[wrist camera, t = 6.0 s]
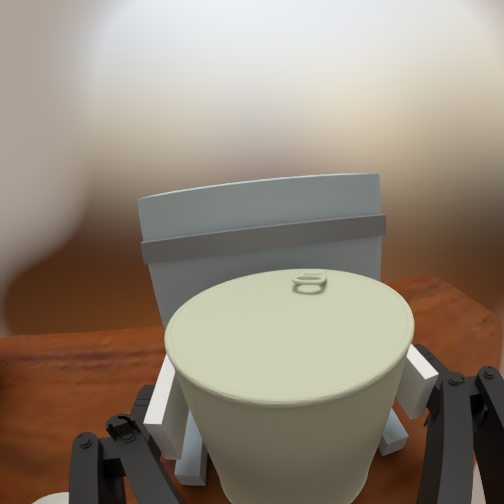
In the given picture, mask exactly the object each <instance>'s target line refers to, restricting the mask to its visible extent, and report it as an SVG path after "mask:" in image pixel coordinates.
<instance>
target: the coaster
mask: <svg viewBox="0 0 504 504" xmlns="http://www.w3.org/2000/svg"><path fill="white" fill-rule="evenodd" d="M33 504H69V492H62V493H55V494H52V495H48V496H45V497H43V498H41V499H39V500H37V501H36V502H34V503H33Z"/></svg>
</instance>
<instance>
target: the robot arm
mask: <svg viewBox="0 0 504 504" xmlns="http://www.w3.org/2000/svg"><path fill="white" fill-rule="evenodd" d="M395 397H396V399H397V400H398V402H399V403H400V405H401V406H402V408H403V410H404V411H405V413H406V414H407V416H408V417H409V419H410V420H412V419H414V418H417V417H419V416H421V415H423V413H424V411H425V409H426V407H427V408H428V409H429V411H430V412H429V415H428V417H427V419H426V421H425V423H424V426H423V427H426V424H427V423H428V424H427V438H426V448H425V457H424V464H423V471H422V477H421V483H420V488H419V493H418V498H417V503H416V504H471V498H472V486H473V449H474V452H475V456H476V460H477V464H478V467H479V471H480V475H481V480H482V485H483V490H484V495H485V501H486V504H504V380H503V378H502V376H501V375H500V373H499V371H498V370H497V369H496V368H494V367H491V366H484V367H482V368H481V369H480V370H479V372H478V374H477V375H476V376H471V377H465V376H464V375H463V374H461V373H458V372H449V371H448V370H447V369H446V367H445V366H444V365H443V364H442V363H441V362H440V361H439V360H438V359H437V358H435V356H434V355H433V354H431V352H430V351H429V350H428V349H427V348H426V347H424V346H422V345H420V344H415V345H412V344H411V345H410V347H409V350H408V353H407V357H406V360H405V364H404V368H403V372H402V376H401V379H400V383H399V386H398V390H397V393H396V396H395ZM486 407H487V408H486ZM188 413H189V406H188V404H187V401H186V399H185V396H184V394H183V391H182V388H181V386H180V383H179V380H178V378H177V375H176V372H175V370H174V367H173V365H172V363H171V362H170V360H169V358H168V356H167V354H166V357H165V360H164V363H163V366H162V369H161V371H160V374H159V377H158V380H157V383H156V385H145V386H144V387H143V388H142V389H141V390H140V391H139V393H138V395H137V398H136V400H135V403H134V406H133V408H132V411H131V413H130V415H128V414H117V415H115V416H113V417H111V418H110V419H109V420H108V421H107V423H106V430H107V432H108V433H109V434H110V436H111V437H108V438H100V439H98V438H97V437H96V435H95V434H93V433H91V432H84V433H81V434H79V435H77V436H76V438H75V439H74V441H73V446H72V455H71V465H70V479H69V504H126V496H125V487H124V476H127V478H128V480H129V483H130V485H131V487H132V490H133V492H134V494H135V497H136V499H137V501H138V503H139V504H186V503H185V502H184V500H183V499H182V497H181V496H180V494H179V492H178V491H177V489H176V487H175V486H174V484H173V482H172V481H171V479H170V477H169V476H168V474H167V472H166V470H165V468H164V467H163V465H162V463H161V462H160V456H161V454H162V455H163V457H164V458H165V459H172V460H181V458H182V451H183V444H184V438H185V432H186V425H187V419H188Z"/></svg>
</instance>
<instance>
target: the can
mask: <svg viewBox="0 0 504 504" xmlns="http://www.w3.org/2000/svg"><path fill="white" fill-rule="evenodd" d="M413 335H414V318H413V314H412V311H411V309H410V307H409V305H408V304H407V302H406V301H405V300H404V299H403V297H402V296H401V295H399V294H398V293H397V292H396V291H395V290H393V289H392V288H390V287H389V286H387V285H385V284H383V283H381V282H379V281H376V280H374V279H371V278H368V277H365V276H362V275H358V274H354V273H349V272H343V271H336V270H326V269H289V270H278V271H270V272H264V273H258V274H253V275H248V276H244V277H240V278H237V279H233V280H230V281H227V282H224V283H221V284H219V285H216V286H214V287H211V288H209V289H207V290H205V291H203V292H201V293H199V294H198V295H196V296H194V297H193V298H191V299H190V300H188V301H187V302H186V303H185V304H183V305H182V306H181V307H180V308H179V309H178V310H177V311H176V312H175V314H174V315H173V316H172V318H171V319H170V321H169V323H168V325H167V328H166V331H165V338H164V340H165V349H166V353H167V356H168V358H169V360H170V362H171V363H172V365H173V367H174V370H175V372H176V375H177V378H178V380H179V383H180V386H181V388H182V391H183V394H184V396H185V399H186V401H187V404H188V406H189V409H190V411H191V414H192V416H193V418H194V421H195V423H196V425H197V428H198V430H199V433H200V435H201V437H202V439H203V442H204V444H205V446H206V448H207V451H208V453H209V455H210V458H211V460H212V462H213V464H214V466H215V469H216V471H217V473H218V475H219V477H220V482H221V486H222V489H223V491H224V493H225V495H226V497H227V498H228V500H229V501H230V502H231V503H232V504H351V503H352V502H353V501H354V499H355V498H356V497H357V496H358V494H359V493H360V492H361V490H362V488H363V487H364V484H365V482H366V479H367V476H368V471H369V467H370V465H371V462H372V460H373V457H374V455H375V452H376V450H377V447H378V445H379V442H380V440H381V437H382V434H383V432H384V429H385V426H386V423H387V420H388V417H389V414H390V411H391V408H392V405H393V402H394V399H395V396H396V393H397V390H398V386H399V383H400V379H401V376H402V372H403V368H404V364H405V360H406V357H407V353H408V350H409V347H410V345H411V342H412V339H413Z"/></svg>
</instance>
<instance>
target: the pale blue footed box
mask: <svg viewBox="0 0 504 504" xmlns="http://www.w3.org/2000/svg"><path fill="white" fill-rule="evenodd" d="M137 204H138V212H139V218H140V224H141V229H142V235H143V240H144V241H143V242H142V243H140V244H141V250H142V254H143V259H144V264H148V265H149V269H150V274H151V279H152V283H153V287H154V291H155V295H156V299H157V303H158V307H159V311H160V315H161V319H162V322H163V326H164V329H165V331H166V328H167V325H168V323H169V321H170V319H171V318H172V316H173V315H174V314H175V312H176V311H177V310H178V309H179V308H180V307H181V306H182V305H183V304H185V303H186V302H187V301H188V300H190V299H191V298H193V297H194V296H196V295H198V294H199V293H201V292H203V291H205V290H207V289H209V288H211V287H214V286H216V285H219V284H221V283H224V282H227V281H230V280H233V279H237V278H240V277H244V276H248V275H253V274H258V273H264V272H270V271H278V270H289V269H326V270H336V271H343V272H349V273H354V274H358V275H362V276H365V277H368V278H371V279H374V280H376V281H379V282H380V270H381V236H382V235H386V215H384V214H381V200H380V182H379V174H325V175H311V176H297V177H284V178H273V179H263V180H254V181H245V182H236V183H228V184H220V185H213V186H206V187H199V188H192V189H185V190H179V191H173V192H167V193H163V194H158V195H154V196H149V197H145V198H141V199H137ZM407 439H408V434H407V433H406V431H405V429H404V427H403V426H402V424H401V422H400V421H399V419H398V417H397V416H396V414H395V413H394V411H393V409H392V408H391V411H390V414H389V417H388V420H387V423H386V426H385V429H384V432H383V434H382V437H381V440H380V442H379V445H378V448H379V450H380V452H381V454H382V456H384V455H387V454H390V453H392V452H395V451H398V450H400V449H403V447H404V445H405V443H406V441H407ZM207 452H208V451H207V448H206V446H205V444H204V442H203V439H202V437H201V435H200V433H199V430H198V428H197V425H196V423H195V421H194V418H193V416H192V414H191V411H190V409H189V413H188V419H187V425H186V432H185V438H184V444H183V451H182V458H181V460H177V461H176V467H175V473H174V475H175V476H176V478H177V479H178V481H179V482H180V483H181V485H195V486H205V483H206V467H207Z"/></svg>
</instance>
